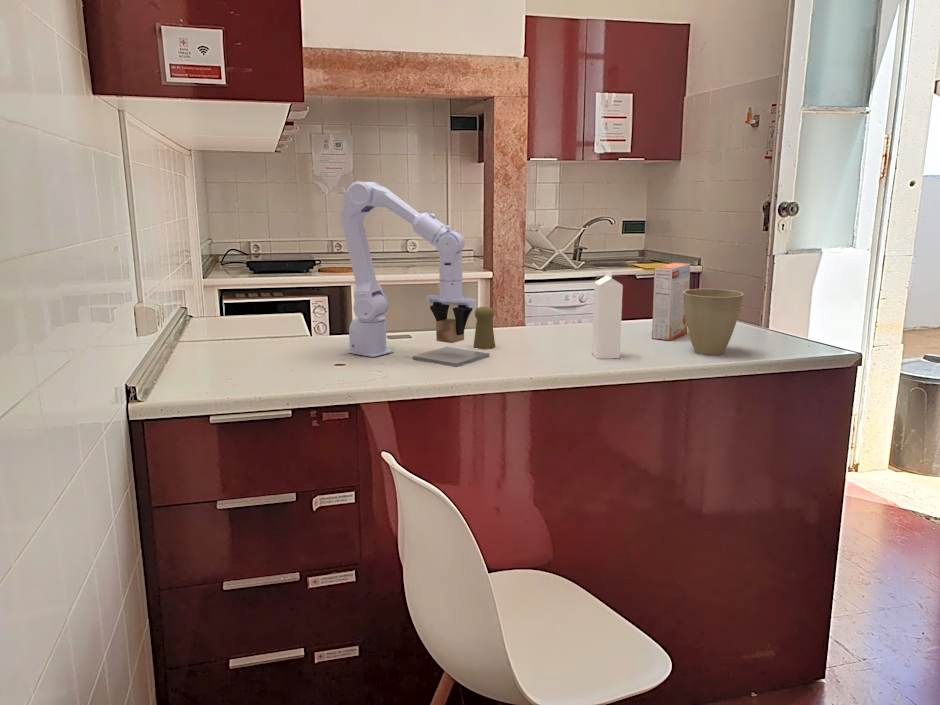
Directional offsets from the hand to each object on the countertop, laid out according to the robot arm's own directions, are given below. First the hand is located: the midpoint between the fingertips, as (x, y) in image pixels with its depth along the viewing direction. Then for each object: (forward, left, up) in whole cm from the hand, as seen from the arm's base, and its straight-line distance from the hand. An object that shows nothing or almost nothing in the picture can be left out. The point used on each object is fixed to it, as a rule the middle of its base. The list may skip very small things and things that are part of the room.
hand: (451, 333), depth 192 cm
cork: (-1, +16, -7) cm, 17 cm away
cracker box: (+34, +60, -7) cm, 69 cm away
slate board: (0, 0, -6) cm, 6 cm away
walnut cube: (0, 0, -2) cm, 2 cm away
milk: (+31, +25, -7) cm, 40 cm away
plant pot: (+51, +45, -7) cm, 68 cm away
